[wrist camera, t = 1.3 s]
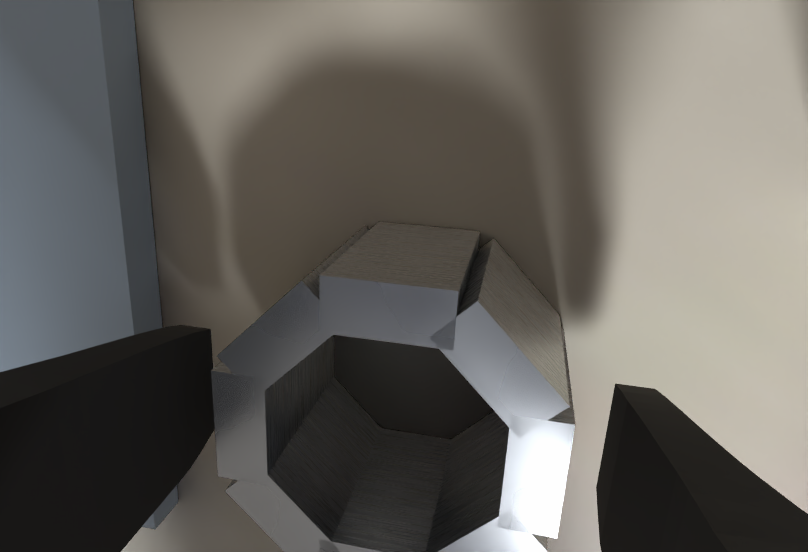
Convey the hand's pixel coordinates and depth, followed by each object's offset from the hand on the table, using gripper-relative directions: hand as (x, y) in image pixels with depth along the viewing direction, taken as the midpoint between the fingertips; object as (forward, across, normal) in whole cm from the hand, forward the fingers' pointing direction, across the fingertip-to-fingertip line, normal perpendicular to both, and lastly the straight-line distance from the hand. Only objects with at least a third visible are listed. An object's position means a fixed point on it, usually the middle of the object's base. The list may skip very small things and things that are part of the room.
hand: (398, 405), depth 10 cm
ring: (+2, 0, 0) cm, 2 cm away
